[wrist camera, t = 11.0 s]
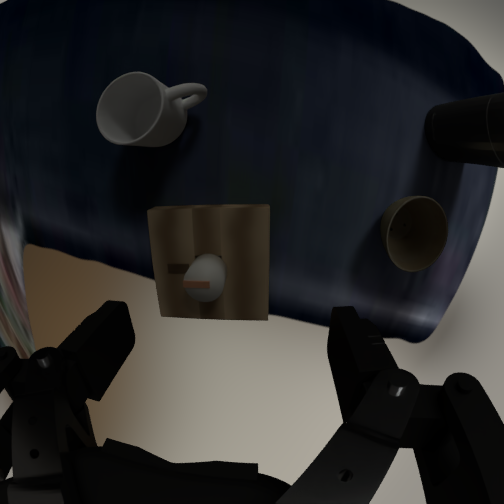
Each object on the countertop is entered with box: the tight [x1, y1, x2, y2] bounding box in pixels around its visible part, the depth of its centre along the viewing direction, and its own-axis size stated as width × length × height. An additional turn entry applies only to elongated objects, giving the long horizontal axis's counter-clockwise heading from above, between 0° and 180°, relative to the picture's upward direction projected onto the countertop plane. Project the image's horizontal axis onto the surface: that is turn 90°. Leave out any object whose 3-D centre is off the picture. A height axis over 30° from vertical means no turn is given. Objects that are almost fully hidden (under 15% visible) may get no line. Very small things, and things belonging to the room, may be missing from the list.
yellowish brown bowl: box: [380, 196, 448, 272], centre depth 33 cm, size 10×10×7 cm
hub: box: [147, 204, 270, 320], centre depth 38 cm, size 16×16×3 cm
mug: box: [96, 72, 207, 147], centre depth 28 cm, size 12×8×10 cm
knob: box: [183, 254, 227, 302], centre depth 36 cm, size 5×5×8 cm
